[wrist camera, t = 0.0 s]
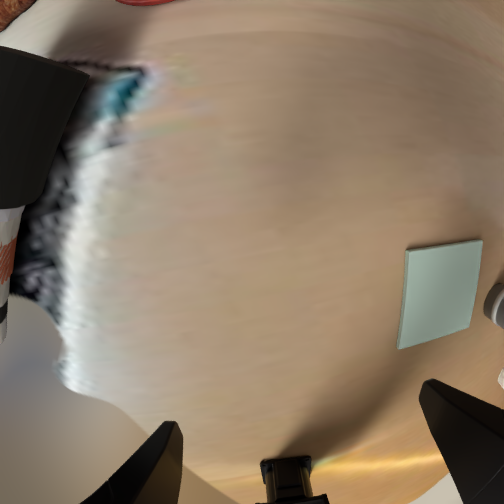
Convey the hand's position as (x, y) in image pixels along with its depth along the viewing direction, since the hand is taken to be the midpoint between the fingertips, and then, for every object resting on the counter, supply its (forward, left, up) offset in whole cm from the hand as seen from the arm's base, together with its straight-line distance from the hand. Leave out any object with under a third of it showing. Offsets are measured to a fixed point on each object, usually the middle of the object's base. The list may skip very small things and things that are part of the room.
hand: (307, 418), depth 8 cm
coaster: (-4, -17, -15) cm, 23 cm away
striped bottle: (+7, +25, -15) cm, 30 cm away
